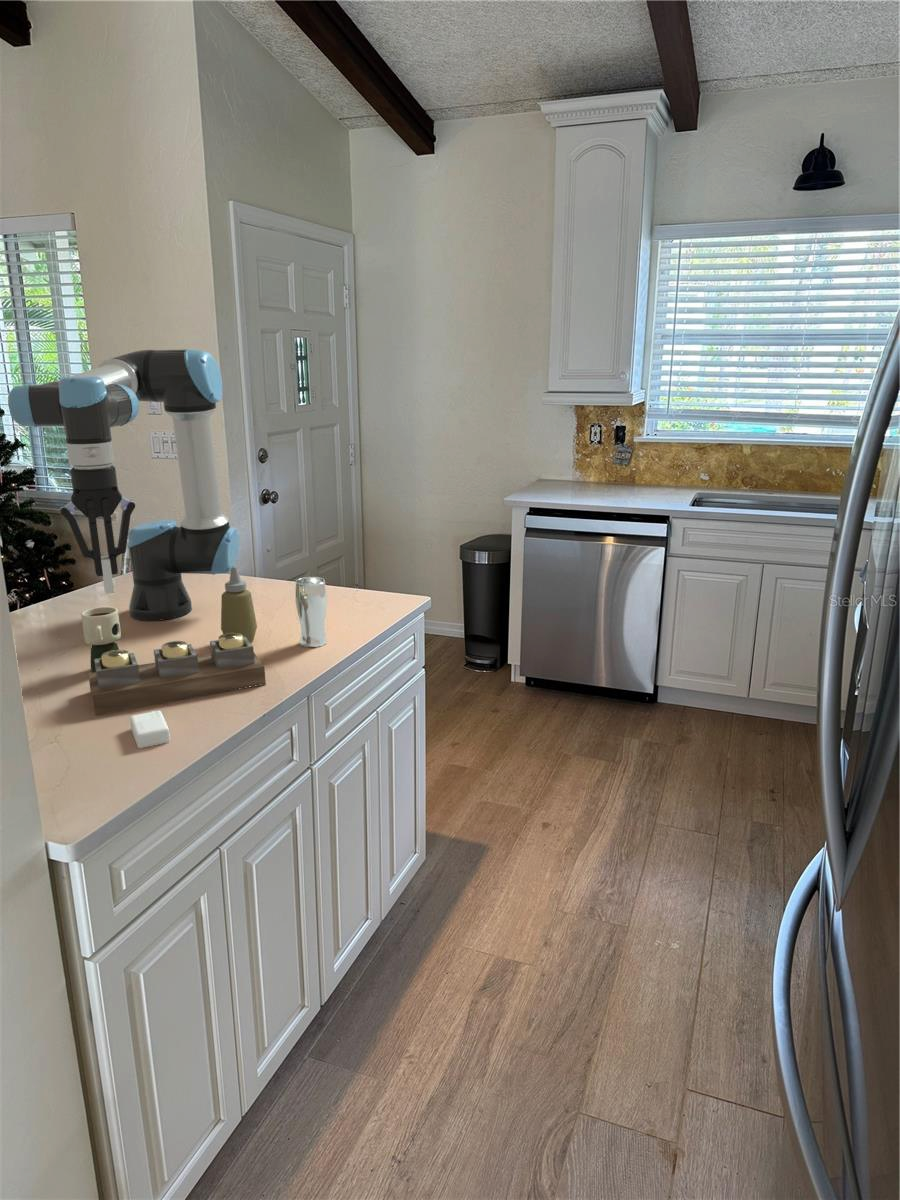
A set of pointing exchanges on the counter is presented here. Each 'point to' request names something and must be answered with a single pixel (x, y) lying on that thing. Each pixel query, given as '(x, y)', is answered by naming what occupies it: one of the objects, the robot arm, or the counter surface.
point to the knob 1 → (115, 658)
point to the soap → (149, 729)
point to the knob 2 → (230, 641)
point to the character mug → (101, 630)
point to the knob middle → (174, 649)
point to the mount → (174, 677)
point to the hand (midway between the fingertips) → (109, 591)
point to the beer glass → (311, 610)
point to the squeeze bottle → (237, 608)
